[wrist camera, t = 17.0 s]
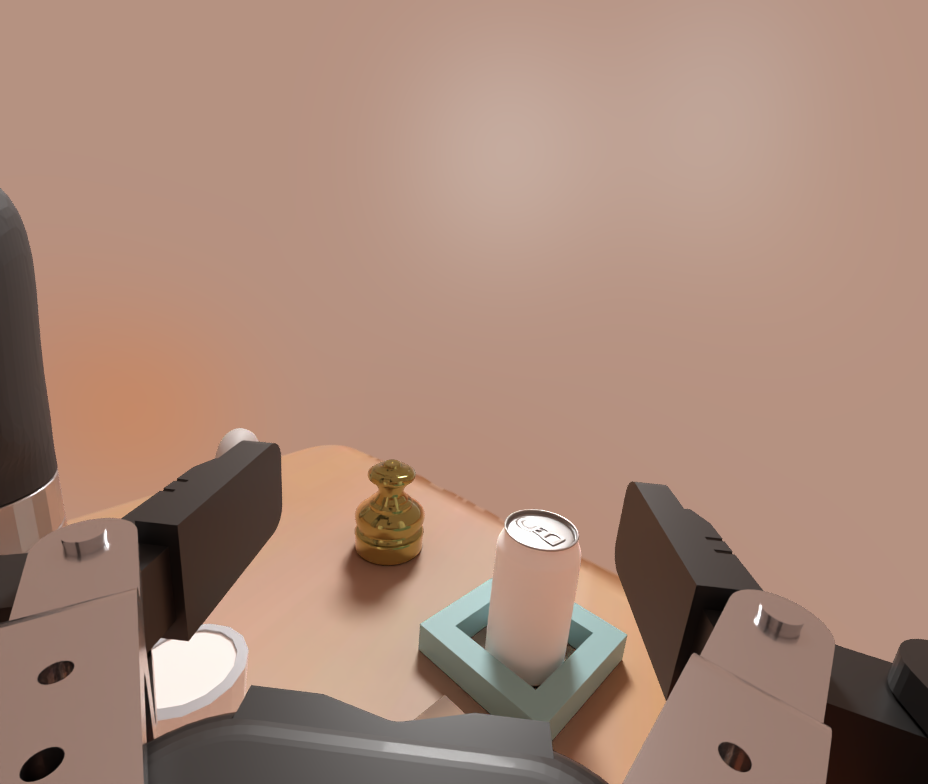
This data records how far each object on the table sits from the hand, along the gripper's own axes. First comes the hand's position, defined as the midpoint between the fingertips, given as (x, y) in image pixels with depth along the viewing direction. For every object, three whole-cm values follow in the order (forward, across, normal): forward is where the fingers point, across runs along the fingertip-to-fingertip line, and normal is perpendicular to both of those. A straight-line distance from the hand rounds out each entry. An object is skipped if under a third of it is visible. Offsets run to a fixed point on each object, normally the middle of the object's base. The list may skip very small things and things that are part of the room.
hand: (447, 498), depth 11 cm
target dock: (+23, -6, +26) cm, 35 cm away
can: (+22, -6, +26) cm, 35 cm away
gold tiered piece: (+36, +8, +27) cm, 45 cm away
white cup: (+12, +15, +26) cm, 33 cm away
